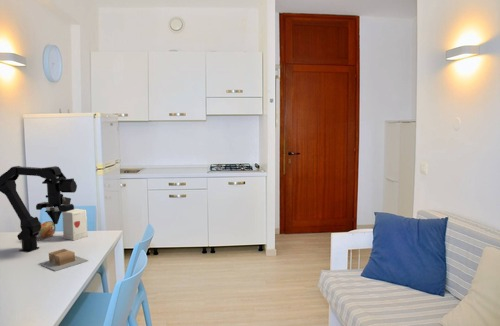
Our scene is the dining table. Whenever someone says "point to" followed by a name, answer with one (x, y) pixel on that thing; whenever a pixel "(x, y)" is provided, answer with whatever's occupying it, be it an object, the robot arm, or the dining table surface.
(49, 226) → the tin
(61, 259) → the walnut block
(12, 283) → the dining table surface
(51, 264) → the mat
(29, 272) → the dining table surface
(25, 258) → the dining table surface
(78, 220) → the supplement box
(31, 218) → the robot arm
